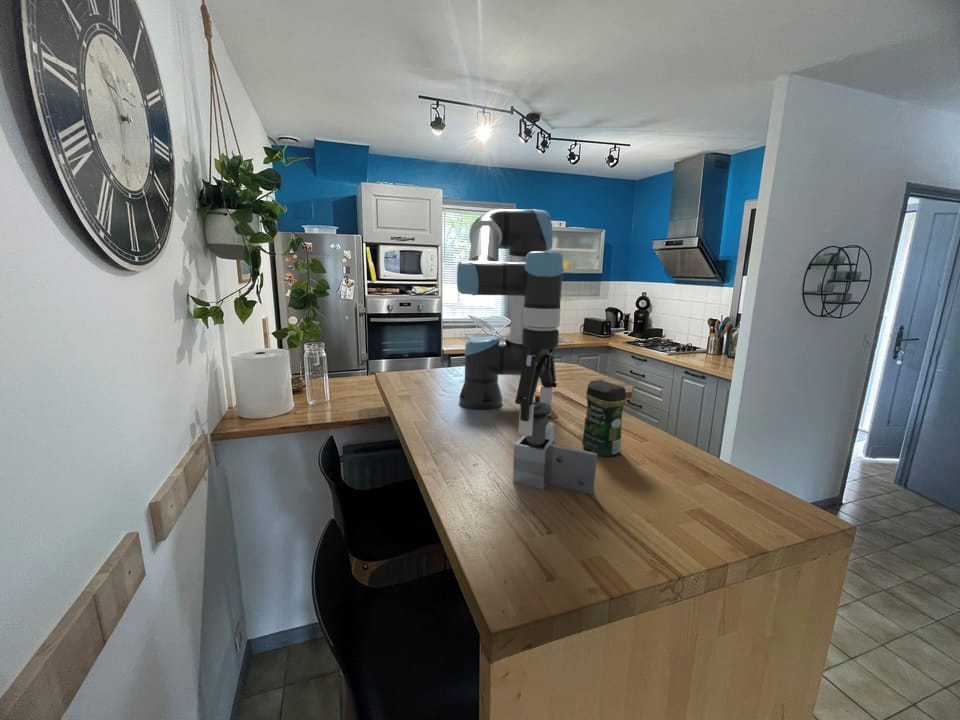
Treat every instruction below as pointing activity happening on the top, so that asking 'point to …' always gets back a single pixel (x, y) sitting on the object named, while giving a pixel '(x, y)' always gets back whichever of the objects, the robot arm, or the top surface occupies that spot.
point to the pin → (539, 425)
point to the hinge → (554, 465)
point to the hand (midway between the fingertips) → (535, 423)
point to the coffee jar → (604, 418)
